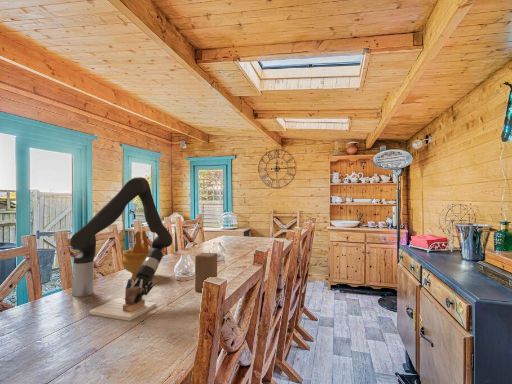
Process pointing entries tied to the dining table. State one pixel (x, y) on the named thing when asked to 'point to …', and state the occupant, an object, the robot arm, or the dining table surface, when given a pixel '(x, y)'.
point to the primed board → (120, 310)
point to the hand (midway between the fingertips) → (131, 301)
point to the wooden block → (204, 268)
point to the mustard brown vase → (136, 254)
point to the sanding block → (132, 299)
